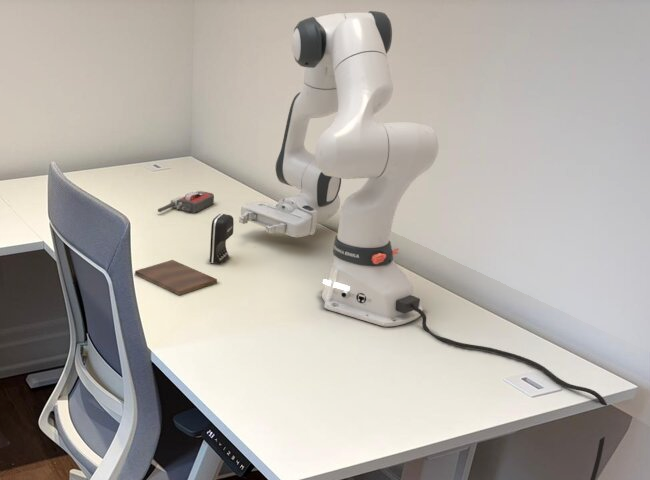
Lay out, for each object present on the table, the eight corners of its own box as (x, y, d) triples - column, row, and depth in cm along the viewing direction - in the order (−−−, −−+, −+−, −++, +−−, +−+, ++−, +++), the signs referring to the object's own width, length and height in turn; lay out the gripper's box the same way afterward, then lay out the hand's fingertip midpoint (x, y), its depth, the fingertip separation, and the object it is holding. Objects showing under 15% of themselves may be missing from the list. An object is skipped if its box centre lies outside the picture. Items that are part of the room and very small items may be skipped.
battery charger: (222, 266, 211) (226, 221, 205) (208, 263, 212) (211, 219, 206) (232, 257, 216) (236, 213, 210) (218, 254, 217) (221, 211, 212)
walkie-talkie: (192, 197, 259) (155, 214, 245) (192, 183, 256) (155, 199, 243) (217, 203, 254) (180, 220, 240) (218, 188, 252) (181, 205, 238)
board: (216, 283, 201) (217, 279, 201) (179, 295, 195) (179, 291, 194) (172, 263, 212) (172, 259, 212) (135, 274, 206) (135, 270, 205)
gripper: (263, 193, 229) (226, 202, 222) (322, 212, 215) (285, 223, 208) (261, 215, 232) (224, 226, 225) (319, 236, 219) (282, 247, 211)
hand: (254, 225), depth 217 cm, fingers open, 8 cm apart
